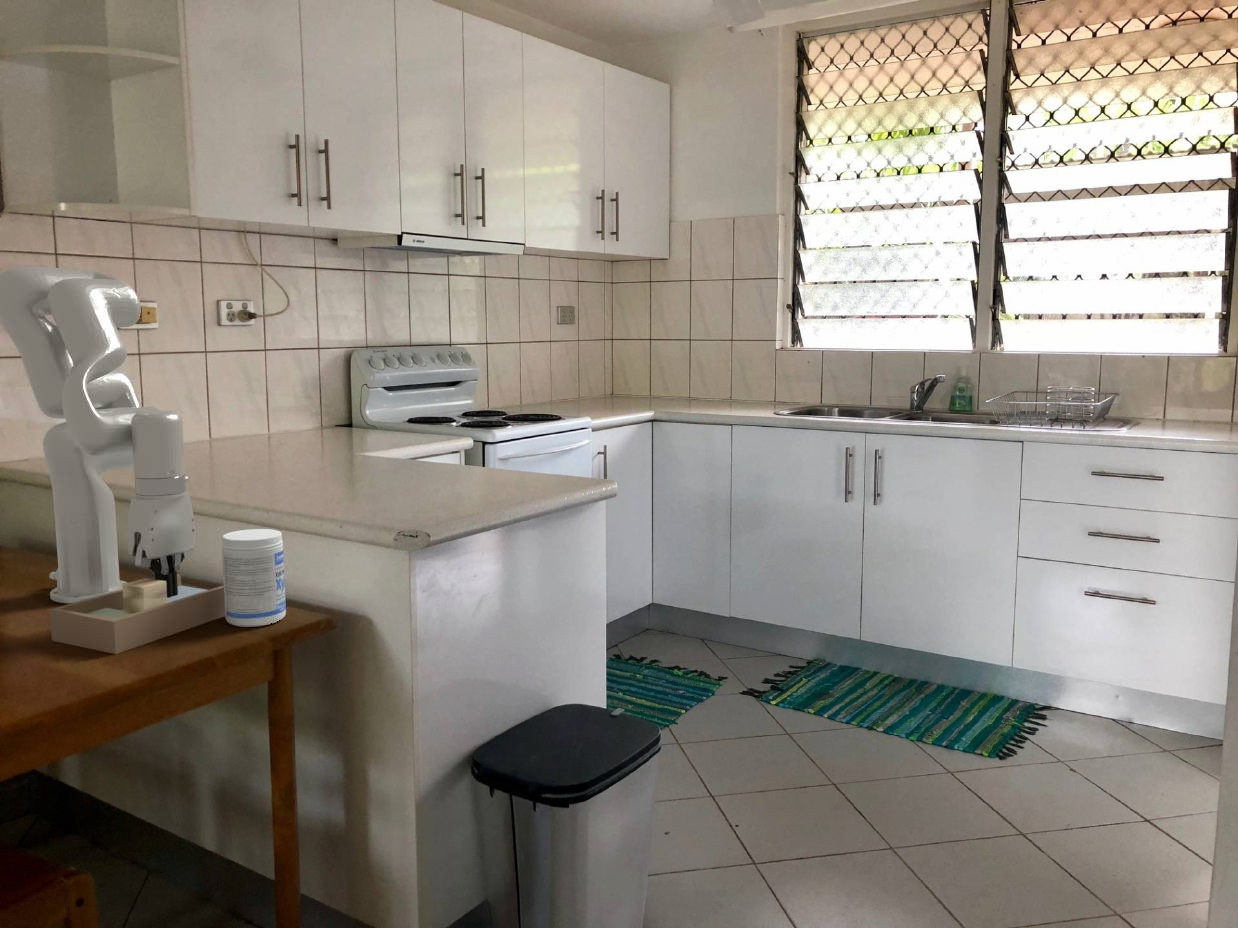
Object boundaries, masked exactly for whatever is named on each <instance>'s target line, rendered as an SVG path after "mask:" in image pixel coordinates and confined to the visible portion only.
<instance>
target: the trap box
mask: <svg viewBox="0 0 1238 928" xmlns="http://www.w3.org/2000/svg"><path fill="white" fill-rule="evenodd" d="M177 585H178V595H176V596H172V597H170V598H167V603H166V604H162V605H159V606H156V607H153V608H150V609H146V610H143V611H140V612H137V613H128V612H124V606H123V589H121V590H117V591H114V592H110V593H107V594H103V595H100V596H96V597H92V598H89V599H85V600H82V601H78V602H75V603H67V604H64V605H60V606H57V607H54V608H50V609H49V619H50V620H49V621H50V632H51V641H52V642H55V643H56V642H57V643H62V644H66V645H71V646H75V647H76V646H77V647H79V648H80V647H81V648H85V649H89V650H94V651H97V652H98V651H99V652H104V653H108V654H113V655H118V654H121V653H123V652H126V651H130V650H132V649H135V648H138V647H140V646H143V645H147V644H149V643H152V642H155V641H157V640H160V639H164V638H167V637H169V636H172V635H175V634H178V633H181V632H183V631H187V630H190V629H192V628H195V627H198V626H201V625H204V624H206V623H210V622H212V621H216V620H217V619H221V618H224V617H226V616H225V597H224V584H223V585H220V586H217V587H214V588H211V589H204V588H200V587H199V588H198V587H191V586H185V585H182V575H181V574H180V573H179V574H178V573H177Z"/></svg>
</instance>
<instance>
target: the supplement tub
mask: <svg viewBox="0 0 1238 928" xmlns="http://www.w3.org/2000/svg"><path fill="white" fill-rule="evenodd" d="M221 538H222V539H221V540H222V544H221V553H222V554H221V557H222V558H221V559H222V573H223V575H222V576H223V585H224V597H225V616H224V617H225V620H226V622H227V623H228V624H230V625H232V626H236V627H242V628H250V627H251V628H252V627H263V626H267V625H271V623H272V624H274V623H277V621H278V622H279V620H280V621H281V620H282V619H284V617H285V616H286V614H287V608H286V607H287V606H286V588H285V587H286V585H285V580H286V579H285V563H284V562H285V560H284V558H285V557H284V543H283V534H282V532H281V531H279V530H277V529H269V528H253V529H252V528H250V529H241V530H236V531H230V532H227V533H225V534H223V535H222V537H221Z"/></svg>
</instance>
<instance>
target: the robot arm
mask: <svg viewBox="0 0 1238 928" xmlns="http://www.w3.org/2000/svg"><path fill="white" fill-rule="evenodd" d="M141 310H142V308H141V301H140V298H139V295H138V293H137V292H136V291H135V289H134V288H133V286H131V284H129V283H128V282H126V281H125V280H123V279H121V278H118V277H115V276H112V275H109V274H107V273H105V272H101V271H97V270H94V269H87V268H67V267H53V266H52V267H51V266H16V267H12V268H8V269H6V270H4V271H2V272H1V273H0V322H1V324H2V327H3V329H4V330H5V332H6V333H7V335H8V337H9V338H10V339H11V341H12V343H13V344H14V345H15V347H16V349H17V351H18V352H19V355H20V357H21V361H22V362H23V367H24V369H25V373H26V375H27V378H28V381H29V383H30V387H31V390H32V393H33V395H34V397H35V401H36V403H37V405H38V407H39V409H40V411H41V412H42V413H43V414H44V415H45V416H46V417H49V418H52V419H56V420H57V419H59V420H62V419H63V420H66V421H64V422H60V423H58V424H55V425H53V426H52V427H50V428H49V429H48V430H47V431H46V433H45V434H44V437H43V441H42V447H43V448H42V449H43V453H44V458H45V461H46V465H47V467H48V472H49V477H50V482H51V488H52V499H53V512H54V523H55V524H54V525H55V536H56V537H55V538H56V552H57V555H56V556H57V564H58V565H57V569H56V570H55V571H52V572H50V574H49V575H48V576H49V577H48V578H49V579H50V580H54V581H56V586H57V587H55V588H53V589H52V590H50V592H49V596H50V599H51V601H53V602H55V603H61V604H71V603H75V602H78V601H82V600H85V599H89V598H92V597H96V596H100V595H103V594H107V593H110V592H114V591H117V590H121V589H123V587H122V584H126V583H128V582H127V581H125V580H121V579H120V565H119V551H118V549H119V548H118V547H119V545H118V532H117V531H118V530H117V518H116V515H117V514H116V513H117V512H116V501H115V496H114V493H113V492H112V489H111V488H110V487H109V486H108V485H107V484H106V482H105V481H104V480H103V479H102V477H100V475H99V474H101V473H106V472H112V471H120V470H128V469H133V472H134V473H133V474H134V475H133V476H134V487H135V489H134V490H135V496H133V497H131V499H130V504H129V510H128V517H127V519H128V520H127V522H128V523H127V549H128V555H129V556H131V557H135V562H134V565H135V566H136V567H139V568H147V569H149V570H150V573H151V574H154V579H155V580H162V581H166V587H167V598H170V597H172V596H176V595H178V585H177V574H178V573H177V572H179V571H180V570H181V564H182V563H183V560H184V559H185V558H187V557H189V556H191V555H192V554H193V553H194V549H193V548H194V546H195V543H196V526H195V518H194V517H195V515H194V510H193V505H192V501H191V497H190V493H189V492H188V491H187V484H188V483H189V481H190V480H189V476H188V475H186V462H185V449H184V448H185V447H184V445H185V444H184V429H183V428H184V426H183V425H184V424H183V418H182V416H181V414H180V413H178V412H176V411H174V410H160V409H158V408H156V407H153V406H142V405H141V403H140V401H139V398H138V395H137V392H136V390H135V386H134V384H133V382H132V381H131V378H130V376H129V375H128V374H127V373H126V372H125V371H124V370H123V369H121V368H120V366H122V365H123V364H124V362H125V361H126V359H127V356H128V350H127V347H126V345H125V343H124V341H123V339H122V337H121V335H120V332H119V330H118V328H129V327H133V326H135V325H136V323H137V322H138V321H139V320H140V317H141V313H142V311H141ZM46 316H52V318H53V320H54V322H55V323H53V322H51V321H50V320H49V319H47V317H46Z"/></svg>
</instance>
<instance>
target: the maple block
mask: <svg viewBox="0 0 1238 928" xmlns="http://www.w3.org/2000/svg"><path fill="white" fill-rule="evenodd" d="M122 587H123V606H124V612H128V613H137V612H140V611H143V610H146V609H150V608H153V607H156V606H159V605H162V604H166V603H167V587H166V581H162V580H155V578H148V577H147V578H146V577H145V578H141V579H137V580H133V581H130V582H127V583H126V584H122Z"/></svg>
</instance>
